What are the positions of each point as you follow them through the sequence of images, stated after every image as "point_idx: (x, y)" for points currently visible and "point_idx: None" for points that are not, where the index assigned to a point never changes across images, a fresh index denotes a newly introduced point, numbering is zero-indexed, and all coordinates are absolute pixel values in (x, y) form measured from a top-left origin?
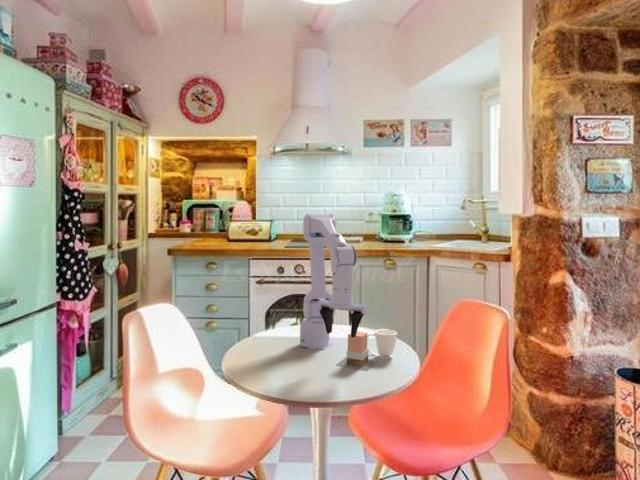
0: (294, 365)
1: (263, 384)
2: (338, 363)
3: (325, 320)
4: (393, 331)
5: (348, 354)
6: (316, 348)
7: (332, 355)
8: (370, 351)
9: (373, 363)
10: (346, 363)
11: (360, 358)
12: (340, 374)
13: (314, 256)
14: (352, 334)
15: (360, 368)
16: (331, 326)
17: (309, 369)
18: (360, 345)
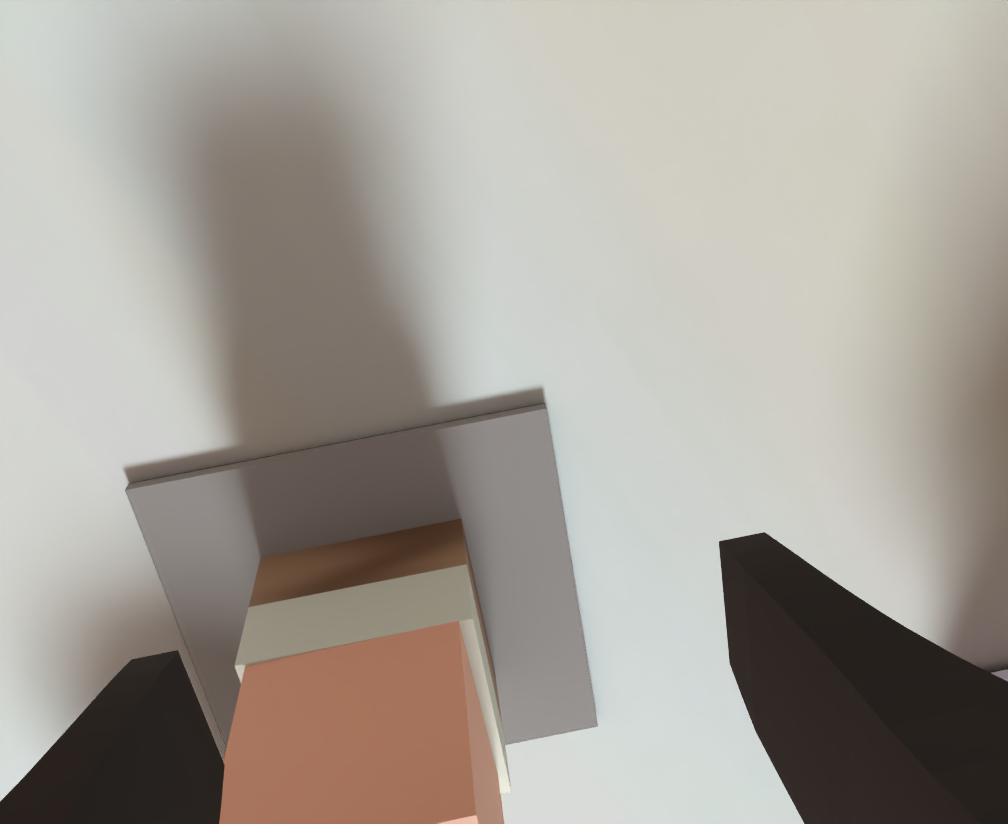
0: (1004, 93)
1: None
2: (549, 476)
3: (946, 699)
4: None
5: (443, 596)
6: (1005, 674)
7: None
8: None
9: (233, 708)
10: (461, 522)
11: (272, 614)
12: (327, 218)
13: None
14: (117, 693)
15: (241, 507)
16: (775, 744)
17: (759, 101)
18: (252, 743)
